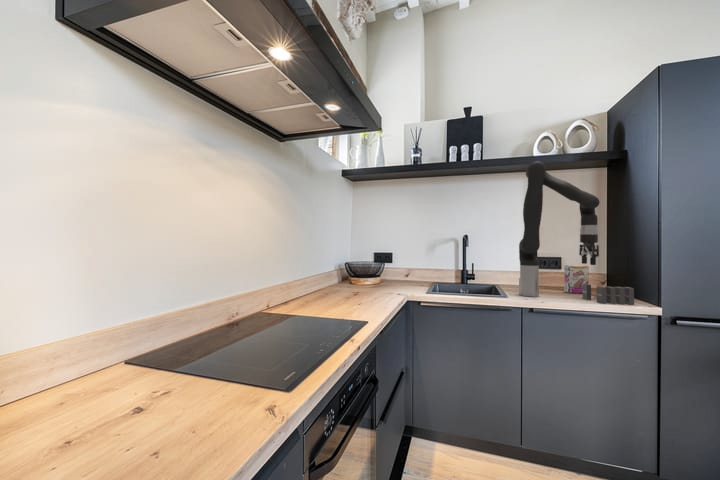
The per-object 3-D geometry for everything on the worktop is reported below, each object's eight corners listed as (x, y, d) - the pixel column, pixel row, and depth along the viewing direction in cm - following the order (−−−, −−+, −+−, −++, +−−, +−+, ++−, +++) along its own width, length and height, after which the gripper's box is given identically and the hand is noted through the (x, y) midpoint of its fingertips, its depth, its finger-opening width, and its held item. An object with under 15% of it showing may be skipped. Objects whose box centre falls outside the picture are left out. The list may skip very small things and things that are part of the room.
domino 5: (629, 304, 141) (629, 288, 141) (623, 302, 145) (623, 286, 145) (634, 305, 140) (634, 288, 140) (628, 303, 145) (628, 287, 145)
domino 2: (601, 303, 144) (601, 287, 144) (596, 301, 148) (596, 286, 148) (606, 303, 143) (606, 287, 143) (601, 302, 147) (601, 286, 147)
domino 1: (586, 299, 153) (586, 284, 153) (582, 298, 157) (582, 283, 157) (591, 300, 152) (591, 284, 152) (586, 298, 157) (586, 283, 157)
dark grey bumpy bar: (610, 304, 143) (610, 287, 143) (605, 302, 147) (605, 286, 147) (615, 304, 142) (615, 287, 142) (610, 302, 146) (610, 286, 146)
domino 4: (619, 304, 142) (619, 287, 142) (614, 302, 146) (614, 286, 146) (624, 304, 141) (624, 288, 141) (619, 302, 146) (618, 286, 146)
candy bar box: (568, 293, 172) (568, 265, 172) (563, 292, 177) (563, 265, 177) (589, 293, 171) (588, 265, 171) (583, 292, 176) (583, 265, 176)
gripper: (574, 234, 163) (573, 263, 163) (587, 233, 149) (587, 265, 149) (589, 234, 161) (589, 263, 161) (605, 233, 148) (604, 265, 147)
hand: (588, 264), depth 155 cm, fingers open, 8 cm apart
